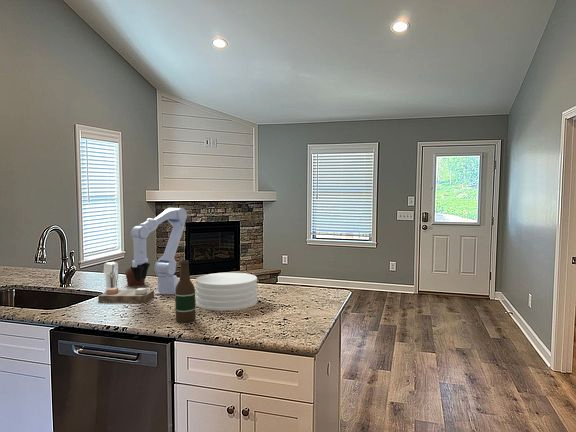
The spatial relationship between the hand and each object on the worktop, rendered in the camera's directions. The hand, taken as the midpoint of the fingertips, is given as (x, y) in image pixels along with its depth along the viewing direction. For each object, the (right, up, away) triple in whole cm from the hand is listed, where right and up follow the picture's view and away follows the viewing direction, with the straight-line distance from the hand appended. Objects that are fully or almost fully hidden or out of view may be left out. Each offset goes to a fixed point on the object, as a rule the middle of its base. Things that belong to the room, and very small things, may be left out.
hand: (140, 279), depth 208 cm
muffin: (-14, -8, +34) cm, 38 cm away
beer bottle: (+29, -11, -34) cm, 46 cm away
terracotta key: (-14, -7, +1) cm, 16 cm away
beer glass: (-20, -9, +16) cm, 27 cm away
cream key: (0, -7, 0) cm, 7 cm away
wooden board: (-7, -9, +1) cm, 12 cm away
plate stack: (+42, -10, -6) cm, 43 cm away
